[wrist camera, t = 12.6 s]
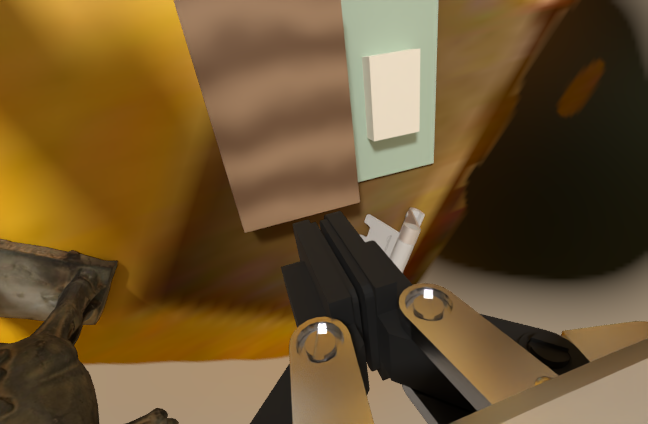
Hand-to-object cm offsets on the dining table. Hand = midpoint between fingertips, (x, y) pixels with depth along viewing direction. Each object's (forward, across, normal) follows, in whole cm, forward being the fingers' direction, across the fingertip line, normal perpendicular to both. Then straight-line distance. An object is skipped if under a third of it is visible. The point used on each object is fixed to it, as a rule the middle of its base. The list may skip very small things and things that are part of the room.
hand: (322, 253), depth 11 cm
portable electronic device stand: (+27, -15, +19) cm, 37 cm away
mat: (+27, -16, 0) cm, 32 cm away
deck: (+27, -3, 0) cm, 27 cm away
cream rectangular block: (+25, -16, 0) cm, 29 cm away
